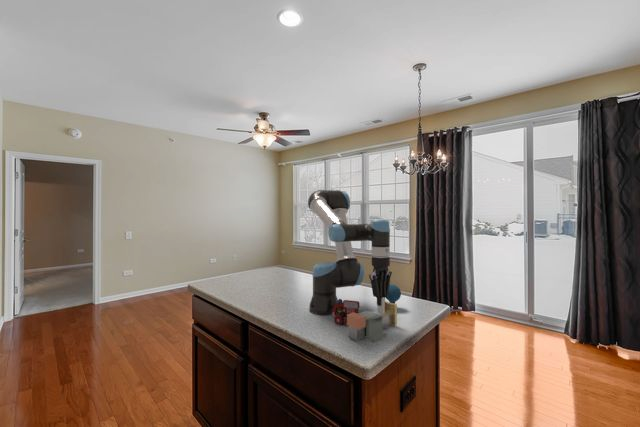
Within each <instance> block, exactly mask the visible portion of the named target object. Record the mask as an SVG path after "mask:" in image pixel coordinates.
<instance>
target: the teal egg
mask: <svg viewBox="0 0 640 427" xmlns="http://www.w3.org/2000/svg"><path fill="white" fill-rule="evenodd" d="M401 296H402V292H401V289H400V288H399V286H398V285H396V284H390V285H389V293H388V295H387V297H385V300H387V302H390V303H394V304H396V302H397V301H398V300H400V299H401Z"/></svg>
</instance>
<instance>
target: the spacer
mask: <svg viewBox="0 0 640 427" xmlns="http://www.w3.org/2000/svg"><path fill="white" fill-rule="evenodd" d="M347 325H348V326H347ZM347 325H346V326H347V327H349V326H351V327H353V328H356V329H358V330H359V329H362V328H364V327H366V316H363V315H360V314H358V313H355V312H353V313H350V314H347Z"/></svg>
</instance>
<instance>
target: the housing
mask: <svg viewBox="0 0 640 427" xmlns="http://www.w3.org/2000/svg"><path fill="white" fill-rule="evenodd" d="M359 314H360V315H363V316H366V337H365V338H366V340H370V341H372V342H377V341H380V340H381V339H384V338H386V337H388V333H387V332H384V331H383V329H382V316H381V315H378V314H379V313H375V312H371V311H368V310H364V311H362V312H359Z"/></svg>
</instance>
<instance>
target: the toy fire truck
mask: <svg viewBox="0 0 640 427" xmlns="http://www.w3.org/2000/svg"><path fill="white" fill-rule="evenodd" d="M338 306H339V307H338ZM337 307H338V308H337ZM359 310H360V301H357V300H350V299H349V300H348V299H344V300H342V299H341V298H339V299H338V302H337V303H336V304H335V306H334V308H333V310H332V314H331V317H332V319H333V321H334V323H335V324H336V325H337V326H340V325H342V324H344V323H345V325H346V326H347V327H349V326H348V325H347V314H350V313H353V312H355V313H358V314H359V313H360V312H359ZM337 311H338V312H337ZM336 312H337V313H336Z"/></svg>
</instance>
